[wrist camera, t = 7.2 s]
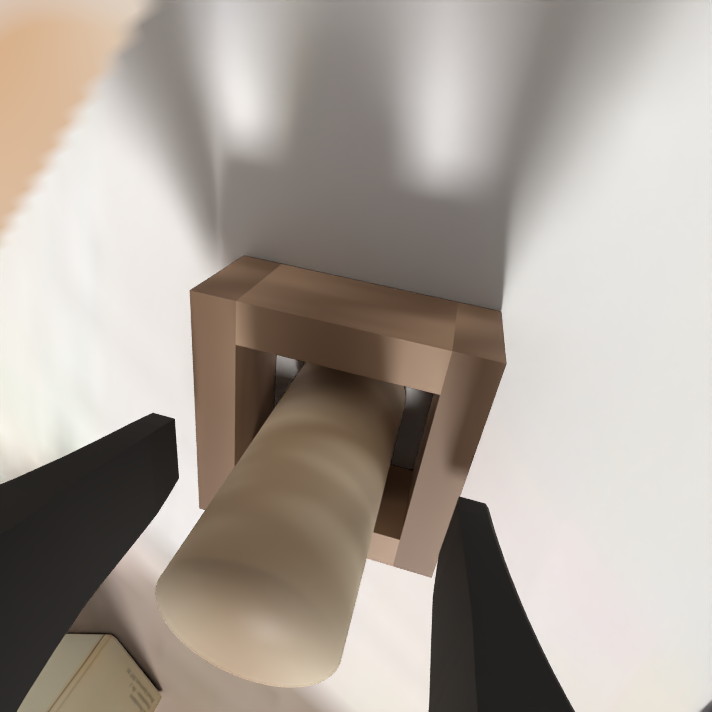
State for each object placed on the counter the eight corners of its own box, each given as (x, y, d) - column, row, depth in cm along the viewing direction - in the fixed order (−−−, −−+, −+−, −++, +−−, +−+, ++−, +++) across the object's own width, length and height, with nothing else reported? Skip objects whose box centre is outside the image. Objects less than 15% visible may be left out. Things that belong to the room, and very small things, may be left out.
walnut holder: (501, 311, 13) (506, 363, 10) (439, 504, 17) (431, 577, 14) (243, 255, 14) (189, 290, 11) (240, 449, 18) (199, 508, 15)
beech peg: (413, 356, 14) (350, 592, 7) (397, 447, 16) (334, 708, 9) (300, 334, 15) (143, 535, 8) (297, 425, 16) (166, 653, 10)
